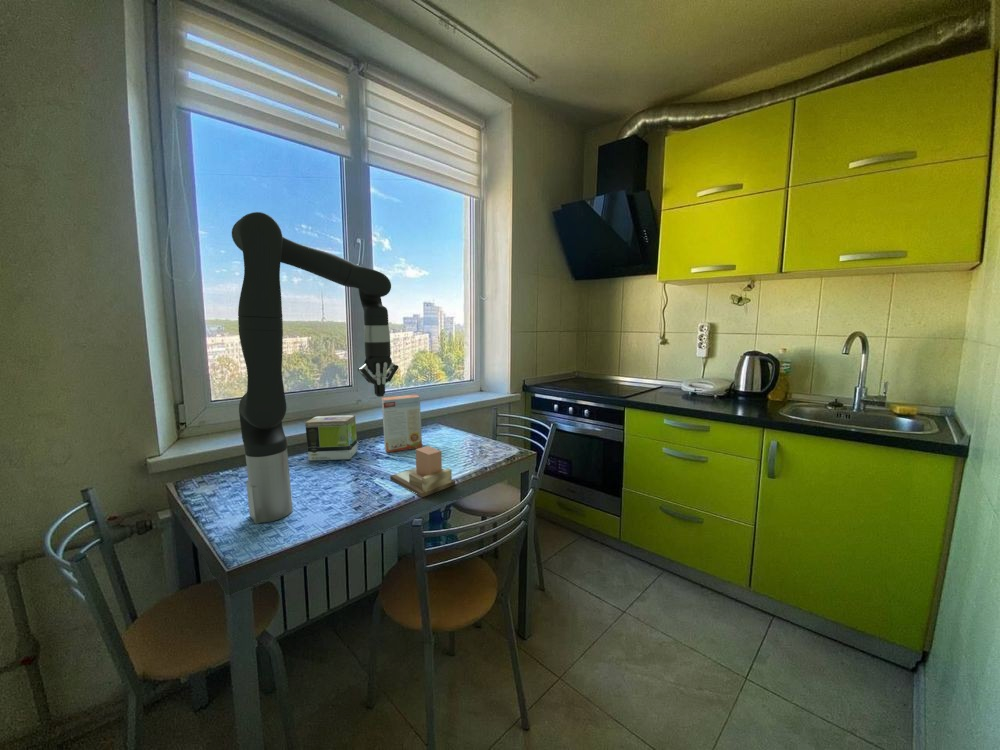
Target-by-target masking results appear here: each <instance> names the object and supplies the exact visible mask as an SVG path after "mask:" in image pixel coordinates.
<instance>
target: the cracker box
mask: <svg viewBox="0 0 1000 750" xmlns="http://www.w3.org/2000/svg"><path fill="white" fill-rule="evenodd" d="M381 409H382V410H381V411H382V426H383V427H382V428H383V440H384V441H383V444H384V449H385V452H386V453H392V452H394V453H395V452H400V451H405V450H406V451H407V450H413V449H414V450H415V449H419V448H422V447H423V441H422V440H423V439H422V416H421V415H422V414H421V398H420V396H419V395H418V394H409V395H408V394H407V395H398V396H395V395H394V396H387V397H386V396H385V397H381Z"/></svg>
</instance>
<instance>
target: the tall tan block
mask: <svg viewBox="0 0 1000 750" xmlns="http://www.w3.org/2000/svg"><path fill="white" fill-rule="evenodd" d="M442 461H443V460H442V450H439V449H437V448H434V447H431V446H428V445H427V446H422V447H421V448H415V466H416V467H415V468H416V474H418V475H420V476H422V477H424V476H427V475H430V474H433V473H436V472H439V471H442V469H443V467H442Z"/></svg>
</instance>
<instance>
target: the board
mask: <svg viewBox="0 0 1000 750" xmlns="http://www.w3.org/2000/svg"><path fill="white" fill-rule="evenodd" d="M452 475H453V474H452V469H450V468H449V467H447V468H446V469H443V468H442V471H439V472H436V473H433V474H430V475H427V476H424V477H422V476H420V475H418V474H416V467H413V468H411V469H408V470H404V471H401V472H397V473H395V474H391V475H390V476H389V477H390V480H391V481H392V482H394V483H396V484H398V485H399V486H401V487H403V488H405V489H406V488H407V490H408V489H409V491H410V492H412V491H413V492H415V493H417V494H418V495H417V494H416V495H417V496H419V497H421V498H424V497H427V496H429V495H432V494H435V493H437V492H440V491H442V490H445V489H448V488H450V487H453V486H455V485H456V480H454V479H452ZM413 492H412V493H413ZM415 493H414V494H415Z"/></svg>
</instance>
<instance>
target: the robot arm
mask: <svg viewBox="0 0 1000 750" xmlns="http://www.w3.org/2000/svg"><path fill="white" fill-rule="evenodd" d="M231 238H232V241H233V243H234V245H235V246H236V247H237V248H238V249H239V250H240V251H241V252H242V257H243V266H244V268H243V269H244V270H243V271H244V273H243V281H242V285H241V289H240V295H239V301H238V306H237V307H238V308H237V310H238V311H237V316H238V317H237V319H238V320H237V321H238V335H239V343H240V347H241V351H242V355H243V358H244V359H243V360H244V362H245V366H246V374H247V381H246V382H247V386H246V387H247V388H246V393H244V394H243V396H242V397H241V399H240V400H239V404H238V415H239V422H240V431H241V432H240V433H241V438H242V443H243V447H244V453H245V462H246V473H247V481H246V493H247V502H248V503H247V504H248V511H249V516H250V518H251V520H252V522H254V524H255V525H257V524H261V523H268V522H269V523H270V522H274V521H277V520H280V519H283V518H285V517H287V516H288V515H290V514H292V511H293V499H292V498H293V497H292V489H291V488H292V487H291V476H290V465H289V464H290V463H289V452H288V442H287V436H286V435H285V431H284V428H283V419H284V418H285V416H286V414H287V402H286V401H287V400H286V394H285V389H284V388H285V387H284V380H283V354H284V353H283V350H284V349H283V345H284V344H283V343H284V342H283V341H284V331H283V330H284V328H283V327H284V323H283V320H284V319H283V306H282V305H283V303H282V302H283V301H282V290H281V279H280V278H281V275H280V274H281V263H282V264H285V265H289V266H292V267H295V268H297V269H299V270H303V271H304V272H305V271H306V272H309V273H311V274H312V275H313V274H314V275H315V276H318V277H321V278H323V279H326V280H329V281H330V282H333V283H336V284H338V285H340V286H343V287H347V288H355V289H358V295H359V299H360V302H361V307H362V310H363V323H364V326H363V327H364V330H363V340H364V341H363V342H364V354H365V355H364V356H365V360H364V365H362V366H361V367H358V368H357V372H358V373H359V374H360V375H361V376H362V377H363V378H364V379H365V380H366V382H367V383H368V384H372V385H373V389H374V390H373V391H374V395H375V396H376V397H378V398H382V397H384V395H386V394H385V393H386V383H389V382H391V380H392V379H393V377H394V376H395V374H396V373H397V371H398V369H399V365H398V364H395V363H394V362H393V360H392V358H391V354H392V351H391V349H392V347H391V332H390V326H389V325H390V324H389V311H388V309H387V307H386V306H384V305H383V302H382V297H386V296H387V295H388V294H389V293H390V291H391V290H392V283H391V280H390V279H389V277H388V276H387V275H385V274H384V273H382V272H380V271H378V270H376V269H373V268H369V267H365V266H363V265H362V266H361V265H359V264H355V263H354V262H352V261H349V260H348V259H346V258H343V257H341V256H338V255H336V254H334V253H330V252H328V251H325V250H321V249H317V248H315V247H310V246H307V245H303V244H301V243H298V242H295V241H293V240H291V239H289V238H287V237H284V235H283V233H282V229H281V227H280V225H279V224H278V222H277V221H276V220H275V219H274V218H273V217H272V216H270V215H269V214H266V213H265V212H262V211H261V212H259V211H255V212H250V213H247V214H245V215H243V216H242V217H241V218H240V219H238V220H237V221H236V222H235V224H234V225H233V226H232V229H231ZM369 372H370V373H369Z"/></svg>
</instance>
